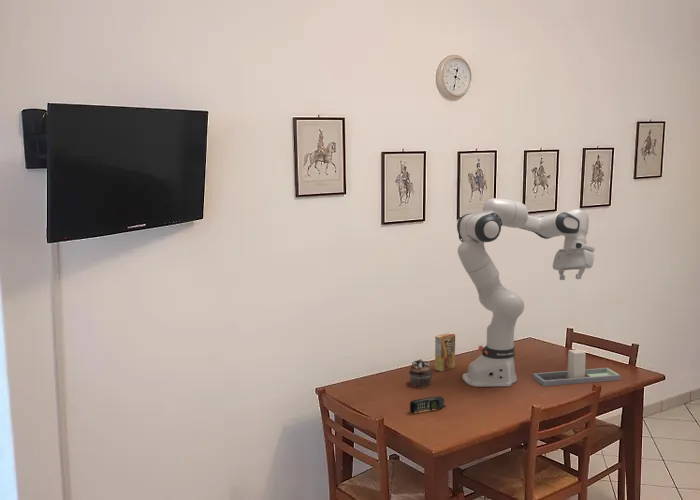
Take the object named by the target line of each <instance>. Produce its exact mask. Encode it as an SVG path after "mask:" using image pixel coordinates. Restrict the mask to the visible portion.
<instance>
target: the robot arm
mask: <svg viewBox="0 0 700 500" xmlns="http://www.w3.org/2000/svg"><path fill="white" fill-rule="evenodd" d="M589 222H590V220H589V214H588V212H586V211H584V210H583V209H578V208H573V209H571V210H569V211H565V212H561V211H560V212H557V213H553V214H549V215H541V216H538V217H535V216H531V215H529V211H528V208H527V206H526V204H524V203H522V202H520V201H517V200H512V199H508V198H498V197H497V198H495V197H494V198H490V199H487V200H486V201H485V203H484V204H483V206H482V210H481V212H480V213H466V214H463V215H462V216H461V217H459V218H458V220H457V223H456V224H457V225H456V231H457V234H458V239H459V241H461V243H460V244H459V245H458V248H457V255H458V257H459V260H460V262H461V264H462V267H463V268H464V271H466V273H467V275H468V276H469V279H471V281H472V283H473V284H474V287H475V289H476V292H477V294H478V301H479V302H480V304H481V305H482V306H483V307H484V308H485V309H486V310H487V311H490V312H492V319H491V321H490V324H488V326H487V327H486V344H485V346H482V345H478V349H477V350H478V351H479V352H481V355H479V356H478V357H477V358H476V359H474V360H473V361H472V362H470V363H469V364H468V368H467V372H466V373H463V374H462V375H461V377H462V381H464V382H465V383H466V384H467V385H468V386H471V387H476V388H477V387H481V388H482V387H511V386H512V384H514V383H516V382H517V381H518V379H517V374H516V369H515V357H516V356H515V355H516V351H515V344H514V342H515V341H514V339H515V327H516V323H517V320H518V318H519V317H520V316H521V315H522V314H523V312H524V310H525V302H524V299H523V298H522V297H521V296H520V295H519V294H517V293H516V292H515V291H512V290H510V289H507V288H506V287H504V286H503V284H502V282H501V280H500V272H499V270H498V268H497V267H496V265H495V263H494V262H493V259H492V258H491V256H490V254H489V253H488V252H487V251H486V247H485V243H490V242H493V241H495V240H497V239H498V237H499V236H500V234H501V231H502V227H507V228H514V229H517V228H518V229H520V230H525V231H528V232H532V233H534V234H536V235H537V237H540V238H542V239H545V240H547V239H552V238H555V237H560V236H563V237H564V242H563V247H562V249H558V250H557V251H556V252H555V256H554V258H553V263H552V269H553V270H555V271H557V272H558V275H559V278H558V279H559V281H565V280H566V276H565V274H564V273H565V271H572V270H578V271H577V273H576V274H575V279H576V280H581V279H582V276H583V274H584V273H585V270H586V269H591V268H592V267H593V266H594V261H595V259H594V258H595V255H594V252H595V250H596V249H595V247H594V246H592V245H590V244H588V243H587V235H588V233H589Z"/></svg>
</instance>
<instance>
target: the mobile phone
mask: <svg viewBox="0 0 700 500" xmlns="http://www.w3.org/2000/svg"><path fill="white" fill-rule="evenodd" d="M443 406H445V407H447V405H446V404H445V399H444V398H443V397H442V396H440V395H438V396H430V397H425V398H417V399H414V400H411V401H410V402H409V412H410V413H411V412H412V413H414V412H419V411H424V410H432V409H439V408H441V409H442V408H444V407H443ZM439 410H440V409H439Z"/></svg>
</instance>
